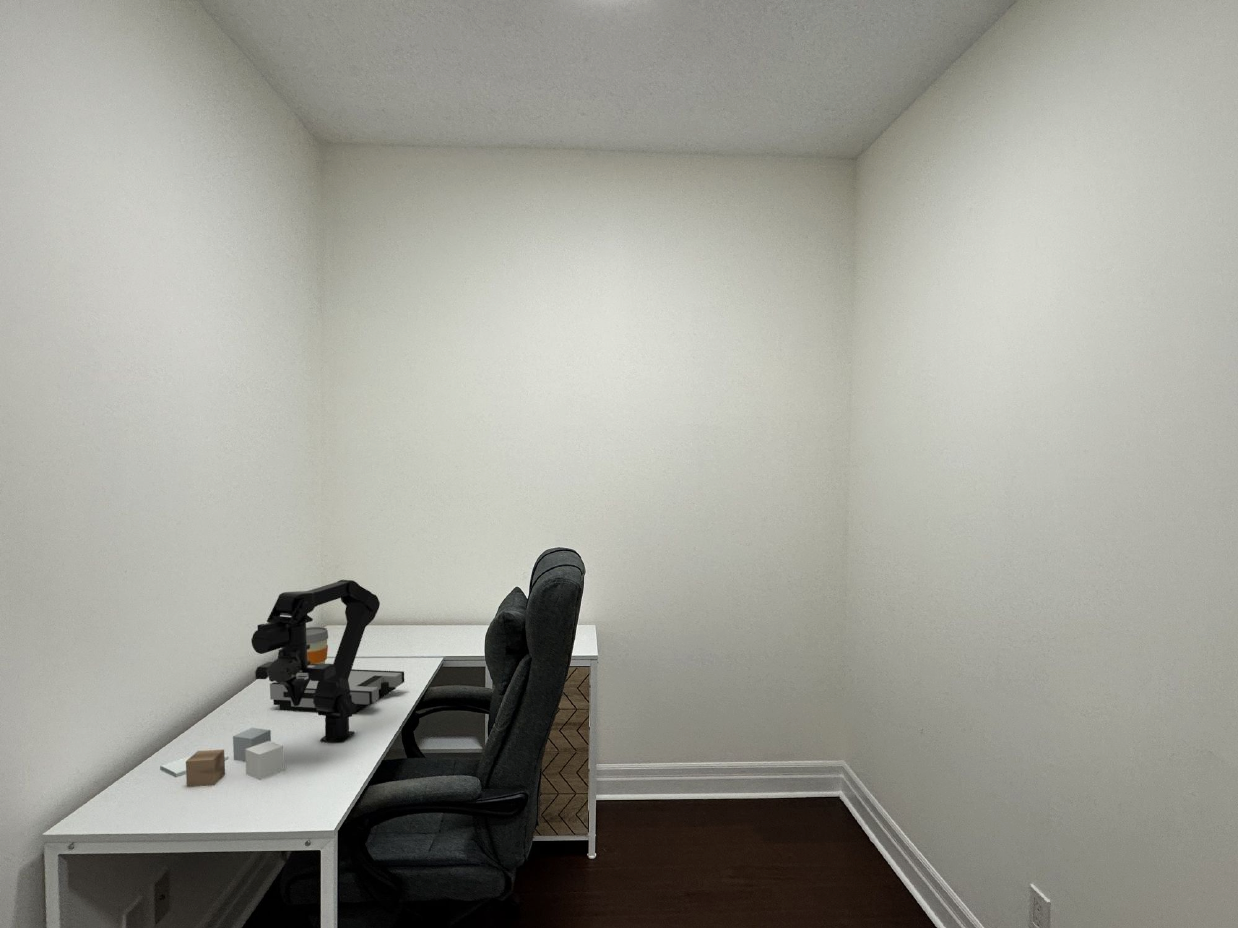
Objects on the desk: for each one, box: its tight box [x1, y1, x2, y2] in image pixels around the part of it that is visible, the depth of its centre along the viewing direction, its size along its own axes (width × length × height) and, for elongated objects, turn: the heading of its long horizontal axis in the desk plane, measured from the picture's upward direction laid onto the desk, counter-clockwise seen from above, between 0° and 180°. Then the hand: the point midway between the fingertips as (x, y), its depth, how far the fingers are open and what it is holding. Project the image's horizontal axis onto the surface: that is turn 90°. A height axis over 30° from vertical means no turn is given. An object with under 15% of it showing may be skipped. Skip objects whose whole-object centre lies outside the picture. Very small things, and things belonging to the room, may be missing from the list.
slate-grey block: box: [232, 727, 272, 763], centre depth 193 cm, size 6×6×6 cm
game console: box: [269, 664, 405, 715], centre depth 233 cm, size 21×32×8 cm, turn 78°
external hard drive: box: [159, 748, 229, 778], centre depth 189 cm, size 2×8×12 cm
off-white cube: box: [245, 740, 285, 780], centre depth 183 cm, size 6×6×6 cm
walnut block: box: [185, 749, 226, 788], centre depth 179 cm, size 6×6×6 cm
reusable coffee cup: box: [306, 626, 329, 664], centre depth 261 cm, size 13×13×15 cm
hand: (296, 705), depth 191 cm, fingers closed
